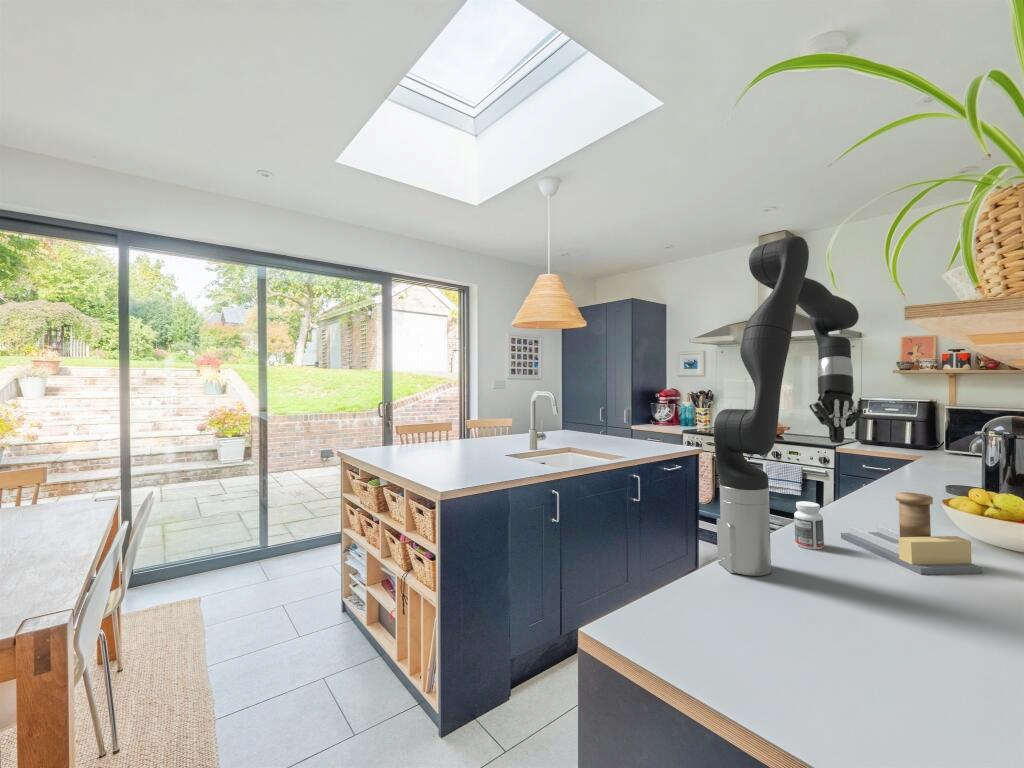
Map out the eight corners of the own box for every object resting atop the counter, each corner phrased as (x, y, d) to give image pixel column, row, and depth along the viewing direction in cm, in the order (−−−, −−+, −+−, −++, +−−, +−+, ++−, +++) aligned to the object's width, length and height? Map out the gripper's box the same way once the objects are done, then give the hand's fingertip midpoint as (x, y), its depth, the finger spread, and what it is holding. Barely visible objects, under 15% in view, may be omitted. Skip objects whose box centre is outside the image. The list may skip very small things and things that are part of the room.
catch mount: (921, 574, 89) (919, 545, 89) (840, 537, 111) (840, 514, 111) (982, 573, 89) (981, 544, 89) (889, 536, 111) (889, 513, 111)
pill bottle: (815, 541, 109) (814, 500, 109) (829, 550, 103) (828, 506, 103) (790, 541, 109) (789, 500, 110) (803, 550, 104) (801, 506, 104)
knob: (913, 557, 94) (911, 499, 94) (890, 547, 100) (888, 492, 100) (942, 557, 94) (940, 498, 94) (917, 547, 100) (915, 492, 100)
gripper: (820, 369, 114) (822, 437, 110) (871, 377, 114) (874, 445, 110) (800, 376, 121) (801, 440, 117) (848, 383, 121) (850, 447, 117)
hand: (836, 442), depth 113 cm, fingers closed
